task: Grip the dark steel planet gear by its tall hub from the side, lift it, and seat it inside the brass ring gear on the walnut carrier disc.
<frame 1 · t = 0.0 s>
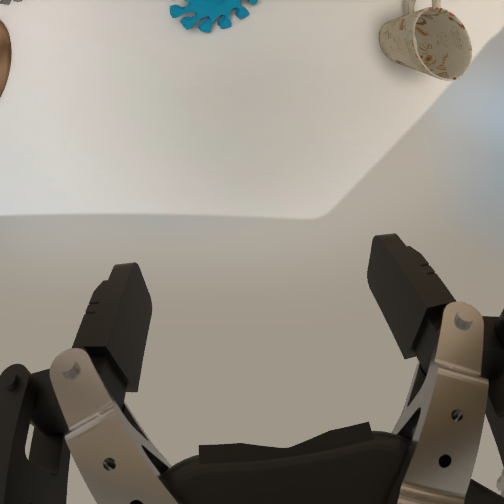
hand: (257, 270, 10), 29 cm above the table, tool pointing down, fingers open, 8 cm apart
mug: (398, 27, 28), on the table
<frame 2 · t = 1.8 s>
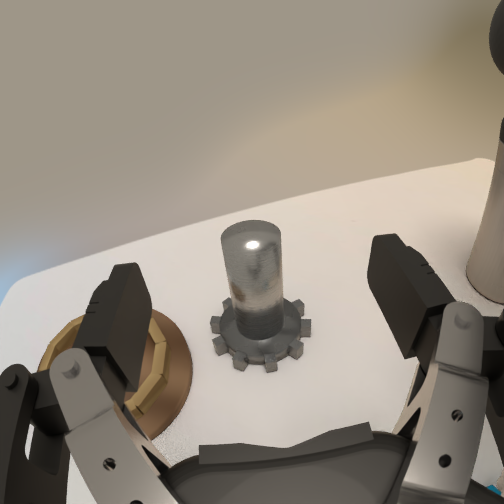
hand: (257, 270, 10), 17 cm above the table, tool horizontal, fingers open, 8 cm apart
planet gear: (261, 332, 29), on the table
carrier disc: (108, 374, 26), on the table
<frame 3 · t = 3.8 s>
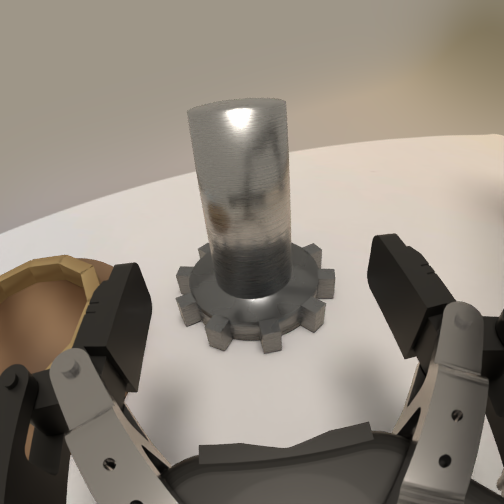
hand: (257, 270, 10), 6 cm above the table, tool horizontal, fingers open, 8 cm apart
planet gear: (255, 291, 19), on the table
carrier disc: (30, 350, 15), on the table
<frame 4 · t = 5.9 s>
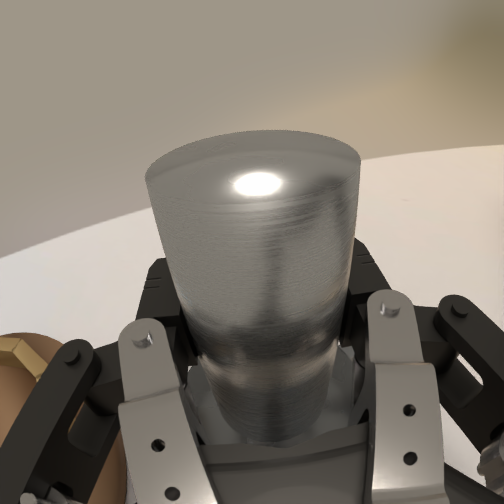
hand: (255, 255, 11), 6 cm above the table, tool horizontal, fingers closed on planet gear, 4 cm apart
planet gear: (272, 408, 13), on the table, touching gripper
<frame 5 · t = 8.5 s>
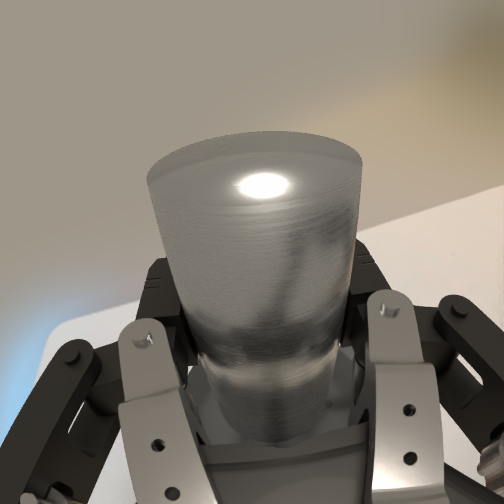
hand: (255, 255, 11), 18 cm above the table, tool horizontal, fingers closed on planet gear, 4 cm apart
planet gear: (273, 409, 13), point 12 cm above the table, touching gripper
when the fingers open (9 cm above the table, at t = 11.2 s): planet gear drops 2 cm, resting on carrier disc.
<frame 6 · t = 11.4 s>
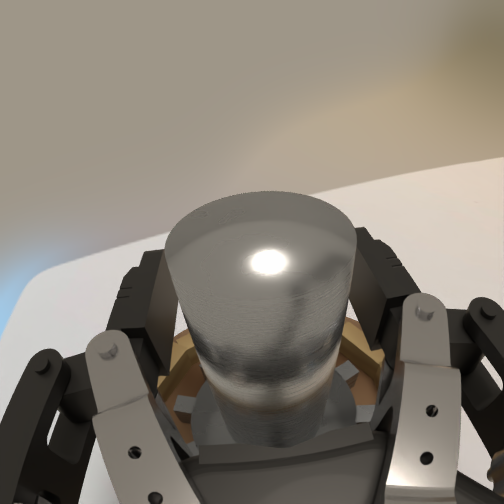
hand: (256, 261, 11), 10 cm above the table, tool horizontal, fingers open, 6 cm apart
planet gear: (274, 425, 13), point 1 cm above the table, touching carrier disc
carrier disc: (273, 432, 14), on the table
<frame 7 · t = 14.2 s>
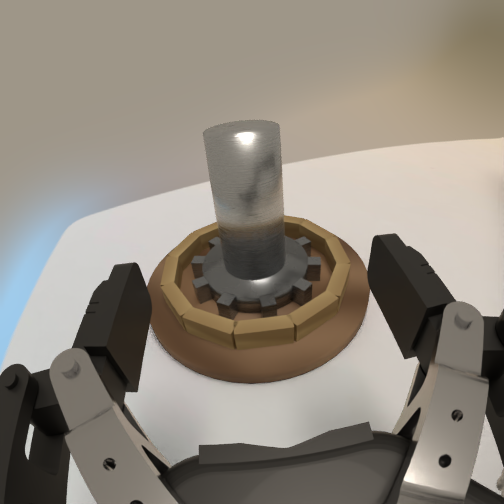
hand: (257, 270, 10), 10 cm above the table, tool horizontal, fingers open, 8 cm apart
planet gear: (256, 276, 23), point 1 cm above the table, touching carrier disc
carrier disc: (256, 287, 24), on the table
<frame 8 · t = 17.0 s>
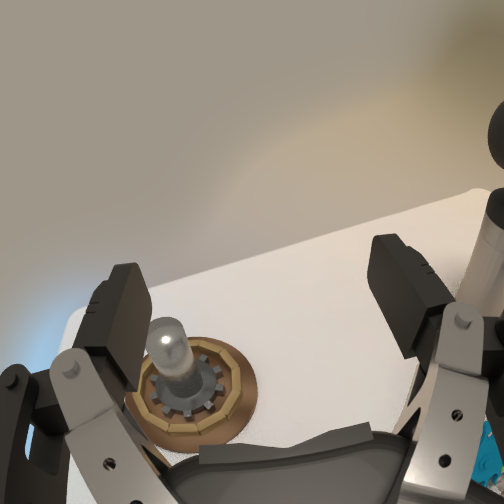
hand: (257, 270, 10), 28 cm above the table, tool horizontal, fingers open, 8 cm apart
planet gear: (188, 388, 35), point 1 cm above the table, touching carrier disc
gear: (472, 470, 21), on the table
carrier disc: (190, 392, 36), on the table
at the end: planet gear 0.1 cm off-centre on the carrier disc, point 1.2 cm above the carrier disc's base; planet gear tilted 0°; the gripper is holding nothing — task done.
